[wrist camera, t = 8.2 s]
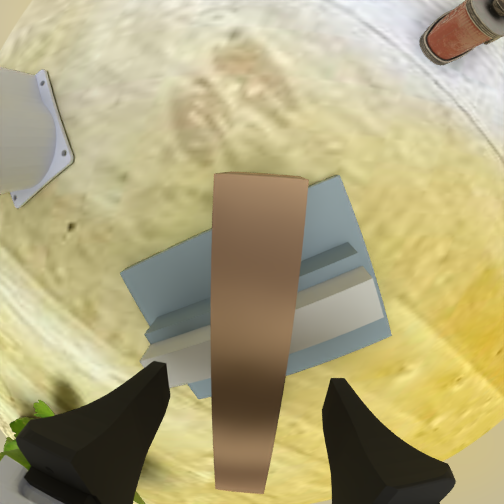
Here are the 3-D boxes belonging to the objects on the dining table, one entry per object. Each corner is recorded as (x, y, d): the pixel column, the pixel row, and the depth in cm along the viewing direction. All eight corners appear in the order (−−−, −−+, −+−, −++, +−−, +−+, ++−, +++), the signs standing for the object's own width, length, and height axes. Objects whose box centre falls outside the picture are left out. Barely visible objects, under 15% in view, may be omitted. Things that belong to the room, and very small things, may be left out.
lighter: (440, 74, 15) (530, 35, 6) (409, 38, 15) (483, -23, 5) (487, 35, 14) (560, 1, 4) (460, 3, 13) (525, -44, 3)
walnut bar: (266, 449, 18) (263, 494, 14) (224, 445, 18) (215, 489, 14) (299, 176, 13) (308, 180, 9) (231, 171, 13) (213, 173, 10)
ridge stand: (200, 391, 24) (185, 438, 18) (125, 268, 21) (86, 298, 16) (387, 328, 21) (412, 371, 16) (336, 174, 18) (359, 178, 13)
